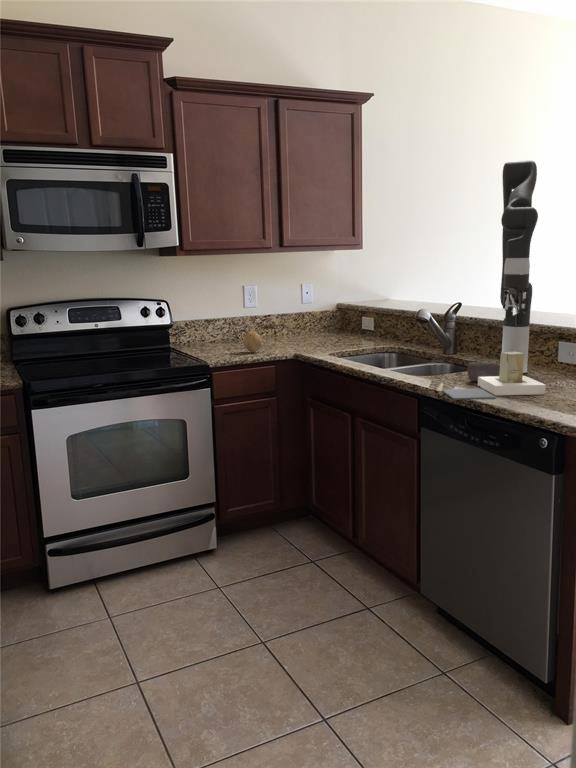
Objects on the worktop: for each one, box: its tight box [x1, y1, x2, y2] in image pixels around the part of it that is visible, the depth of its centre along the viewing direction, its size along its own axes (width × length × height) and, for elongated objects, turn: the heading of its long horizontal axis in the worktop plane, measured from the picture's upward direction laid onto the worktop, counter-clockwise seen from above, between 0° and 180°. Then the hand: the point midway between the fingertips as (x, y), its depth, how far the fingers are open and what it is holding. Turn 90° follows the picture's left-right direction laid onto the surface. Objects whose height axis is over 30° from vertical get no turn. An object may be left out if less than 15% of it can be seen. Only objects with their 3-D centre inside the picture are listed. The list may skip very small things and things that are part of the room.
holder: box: [477, 375, 547, 396], centre depth 212 cm, size 16×16×3 cm
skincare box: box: [499, 352, 524, 383], centre depth 211 cm, size 6×4×12 cm
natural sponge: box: [242, 330, 264, 354], centre depth 301 cm, size 9×9×10 cm
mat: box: [441, 388, 496, 401], centre depth 205 cm, size 13×13×1 cm
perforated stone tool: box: [466, 361, 500, 383], centre depth 227 cm, size 15×5×7 cm, turn 111°
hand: (513, 324), depth 208 cm, fingers open, 8 cm apart
